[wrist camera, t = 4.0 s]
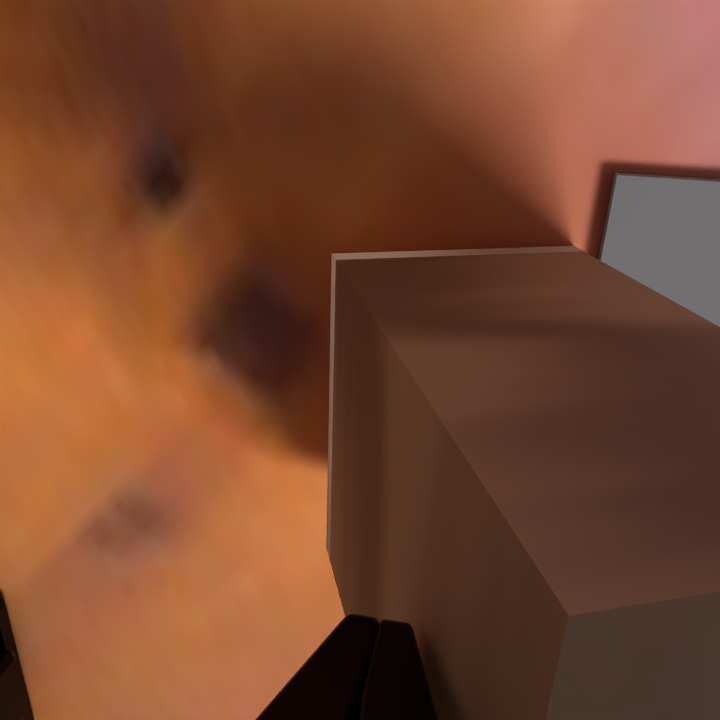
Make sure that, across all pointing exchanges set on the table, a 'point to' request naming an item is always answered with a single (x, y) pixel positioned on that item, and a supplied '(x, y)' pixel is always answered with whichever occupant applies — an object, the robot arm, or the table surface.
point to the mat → (667, 237)
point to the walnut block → (529, 480)
